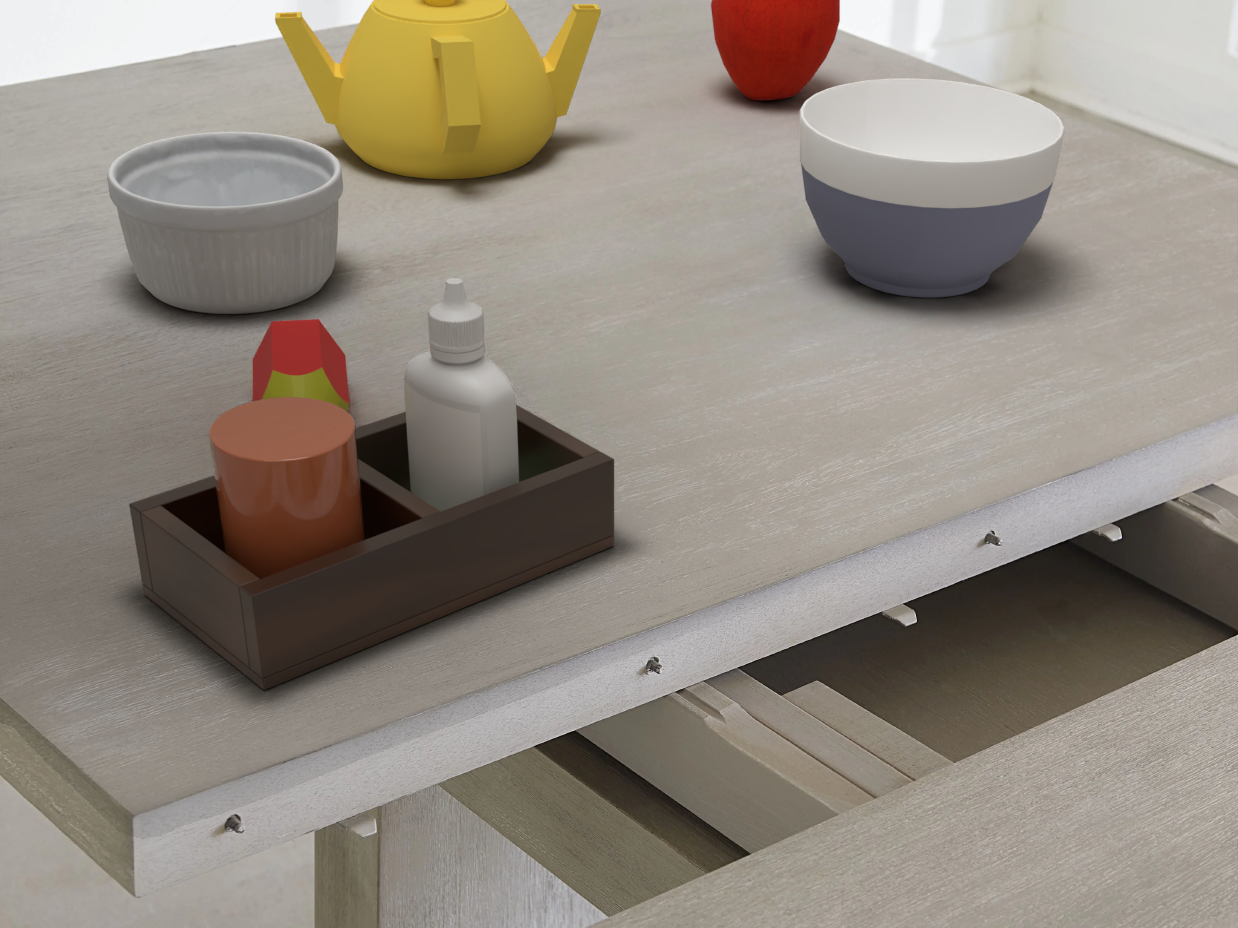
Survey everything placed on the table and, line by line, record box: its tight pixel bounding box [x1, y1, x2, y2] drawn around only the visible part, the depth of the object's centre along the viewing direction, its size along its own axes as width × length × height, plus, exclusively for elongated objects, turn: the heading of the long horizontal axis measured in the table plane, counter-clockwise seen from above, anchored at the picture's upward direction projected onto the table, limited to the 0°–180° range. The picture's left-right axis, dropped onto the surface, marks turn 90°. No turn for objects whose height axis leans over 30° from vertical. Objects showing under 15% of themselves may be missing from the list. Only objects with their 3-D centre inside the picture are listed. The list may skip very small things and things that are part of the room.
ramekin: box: [107, 131, 344, 315], centre depth 112 cm, size 13×13×7 cm
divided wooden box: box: [128, 404, 615, 691], centre depth 86 cm, size 10×19×5 cm, turn 133°
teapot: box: [274, 0, 602, 180], centre depth 132 cm, size 17×17×12 cm
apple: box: [710, 0, 841, 102], centre depth 144 cm, size 10×10×12 cm
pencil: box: [252, 318, 351, 413], centre depth 96 cm, size 5×12×4 cm, turn 12°
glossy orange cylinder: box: [208, 397, 365, 579], centre depth 82 cm, size 6×6×8 cm
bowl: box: [799, 77, 1065, 299], centre depth 117 cm, size 16×16×10 cm
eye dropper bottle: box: [403, 277, 519, 512], centre depth 86 cm, size 4×6×12 cm
